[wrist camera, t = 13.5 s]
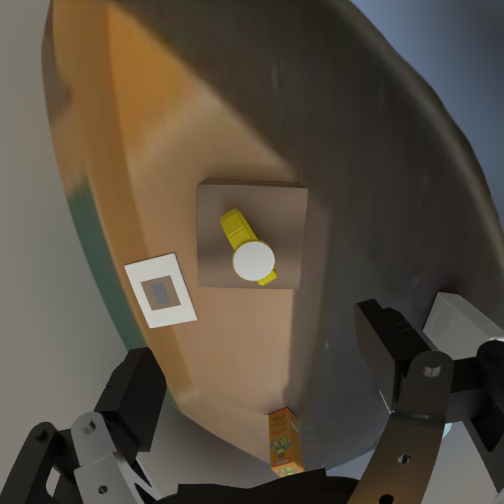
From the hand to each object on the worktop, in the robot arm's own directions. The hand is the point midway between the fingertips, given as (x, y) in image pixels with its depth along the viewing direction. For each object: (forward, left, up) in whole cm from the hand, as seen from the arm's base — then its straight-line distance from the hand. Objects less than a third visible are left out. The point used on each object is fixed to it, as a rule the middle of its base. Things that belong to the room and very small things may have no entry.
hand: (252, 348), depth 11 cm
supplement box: (+28, -2, -20) cm, 34 cm away
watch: (0, 0, -15) cm, 15 cm away
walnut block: (0, 0, -20) cm, 20 cm away
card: (+5, -11, -20) cm, 23 cm away
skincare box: (+17, +22, -20) cm, 34 cm away
